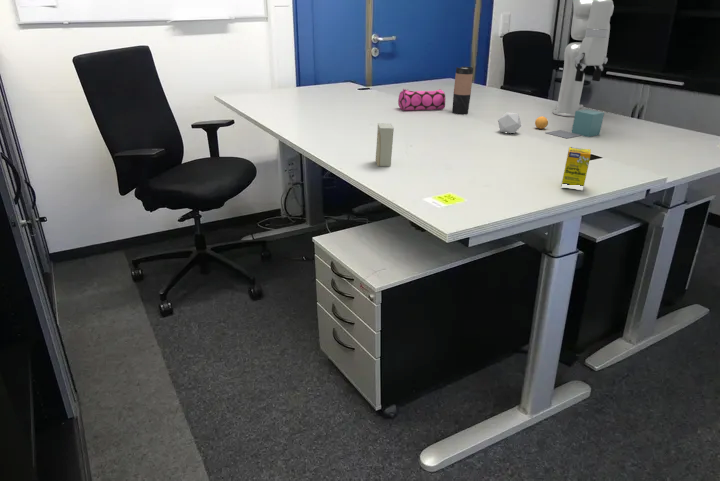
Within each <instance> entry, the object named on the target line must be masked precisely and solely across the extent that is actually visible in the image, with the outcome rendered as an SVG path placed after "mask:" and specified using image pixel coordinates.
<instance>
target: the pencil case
mask: <svg viewBox="0 0 720 481" xmlns="http://www.w3.org/2000/svg"><path fill="white" fill-rule="evenodd" d="M397 102H398V103H397V104H398V106H399V109H400V110H401V111H422V110H423V111H437V110H444V109H445V107H446V94H445V92H444V90H442V89H437V90H416V91H415V90H410V89H409V88H407V89H406V88H404V87H403V88H402V91H400V92H399V95H398V101H397Z"/></svg>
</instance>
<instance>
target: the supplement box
mask: <svg viewBox="0 0 720 481" xmlns="http://www.w3.org/2000/svg"><path fill="white" fill-rule="evenodd" d="M567 151H568V152H567V154H566V155H567V156H566V161H565V166H564V171H563V176H562V180H561V185H562V184H567V185H580V186H585V182H586V178H587V173H588V169H589V164H590V161H591V154H592V152H591V151H592V150H591V149H590V148H589V149H588V148H582V147H581V148H580V147H573V146H569V147H568V150H567Z"/></svg>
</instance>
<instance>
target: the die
mask: <svg viewBox="0 0 720 481" xmlns="http://www.w3.org/2000/svg"><path fill="white" fill-rule="evenodd" d="M497 122H498V127H499V131H501V132H507V133H514V134H515V133H516V132H517V131H519V129H520V128H522V123H521V118H520V114H519V113H514V112H509V111H506V112H505V113H503V115H501V116H500V117H499V118H498V119H497ZM501 132H500V133H501ZM507 133H506V134H507Z"/></svg>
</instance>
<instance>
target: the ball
mask: <svg viewBox="0 0 720 481" xmlns="http://www.w3.org/2000/svg"><path fill="white" fill-rule="evenodd" d="M548 124H549V120H548V118H547V117H545V116H543V115H542V116H539V117H537V118H536V119H535V121H534V126H535V127H536V128H537V129H539V130H542V129H546V127H547V126H548Z"/></svg>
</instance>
